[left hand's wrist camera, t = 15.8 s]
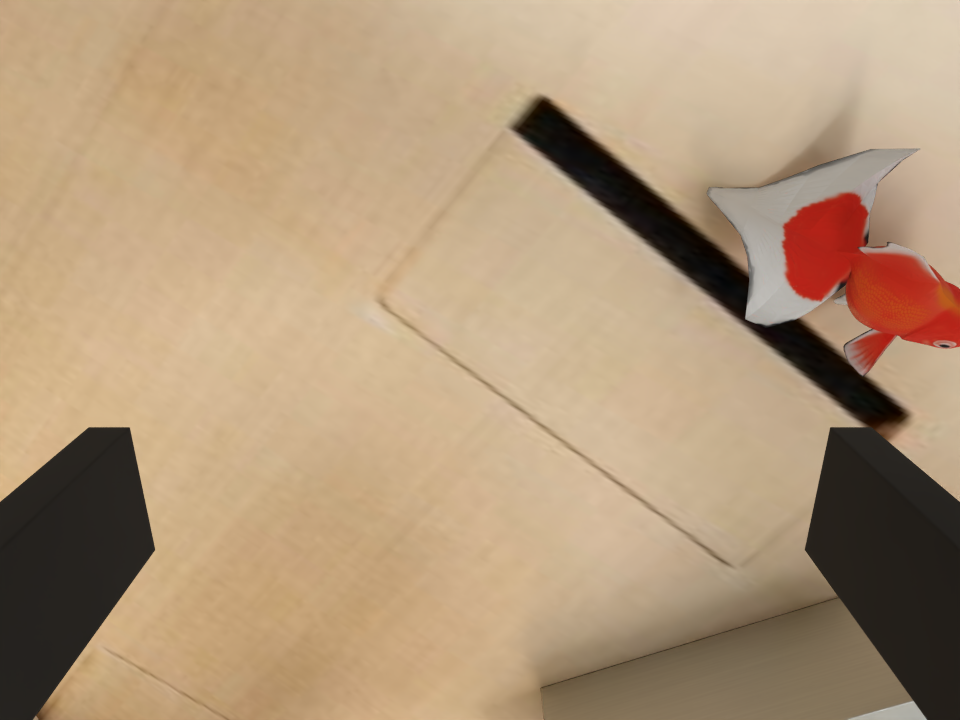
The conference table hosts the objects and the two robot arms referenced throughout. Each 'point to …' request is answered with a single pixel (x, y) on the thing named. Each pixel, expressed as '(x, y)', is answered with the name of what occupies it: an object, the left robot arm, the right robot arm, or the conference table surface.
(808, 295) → the fish
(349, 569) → the conference table surface
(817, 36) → the conference table surface
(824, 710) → the bar
